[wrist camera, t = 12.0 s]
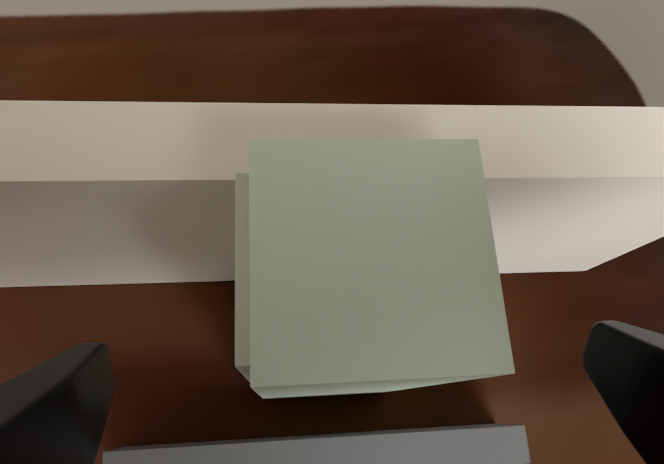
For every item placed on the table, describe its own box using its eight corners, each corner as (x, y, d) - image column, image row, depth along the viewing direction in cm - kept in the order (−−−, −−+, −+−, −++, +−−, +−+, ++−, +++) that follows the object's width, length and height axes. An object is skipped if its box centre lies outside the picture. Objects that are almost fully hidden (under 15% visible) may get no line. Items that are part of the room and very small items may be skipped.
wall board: (621, 448, 21) (909, 481, 11) (-30, 493, 18) (-362, 587, 9) (576, 227, 24) (776, 108, 14) (7, 237, 21) (-212, 97, 12)
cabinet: (382, 392, 21) (515, 373, 9) (255, 399, 20) (231, 388, 9) (373, 277, 22) (477, 138, 11) (254, 280, 21) (233, 139, 10)
